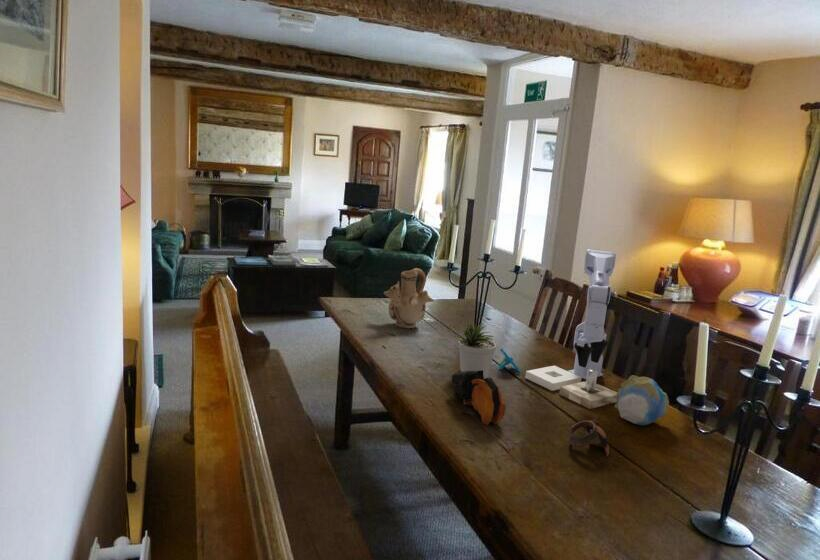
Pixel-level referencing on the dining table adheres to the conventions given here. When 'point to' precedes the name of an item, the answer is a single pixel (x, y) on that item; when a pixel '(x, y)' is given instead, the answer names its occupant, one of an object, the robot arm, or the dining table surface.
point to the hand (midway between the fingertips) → (588, 364)
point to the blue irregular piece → (507, 361)
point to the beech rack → (588, 395)
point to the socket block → (552, 377)
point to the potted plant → (476, 350)
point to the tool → (480, 394)
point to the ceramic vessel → (408, 299)
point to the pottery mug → (589, 435)
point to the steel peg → (591, 381)
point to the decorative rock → (641, 400)
